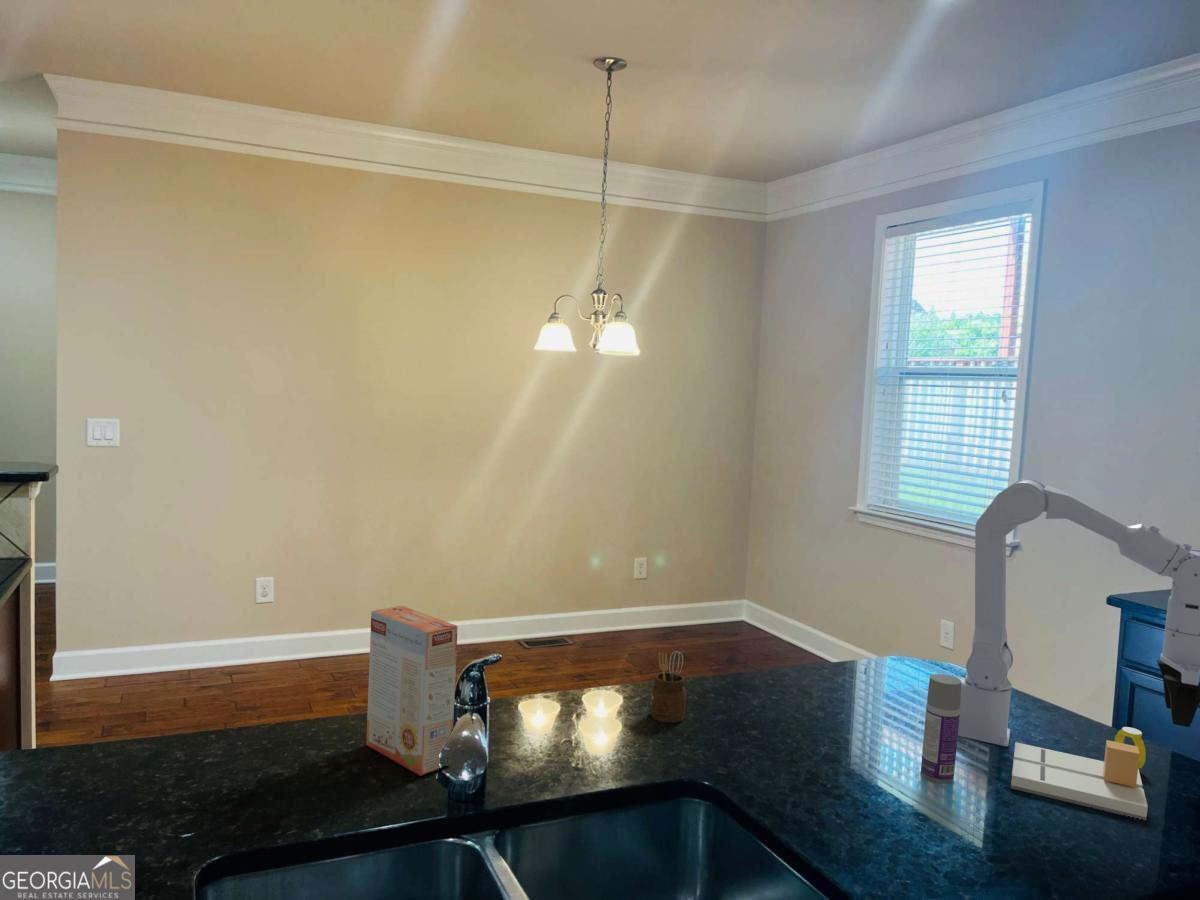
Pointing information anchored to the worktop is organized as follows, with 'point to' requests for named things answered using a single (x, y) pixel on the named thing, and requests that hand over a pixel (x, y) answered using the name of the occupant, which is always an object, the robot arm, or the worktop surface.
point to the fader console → (1074, 781)
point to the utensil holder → (668, 694)
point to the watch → (1137, 740)
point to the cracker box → (411, 686)
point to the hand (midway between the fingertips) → (1177, 716)
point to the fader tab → (1121, 763)
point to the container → (941, 728)
